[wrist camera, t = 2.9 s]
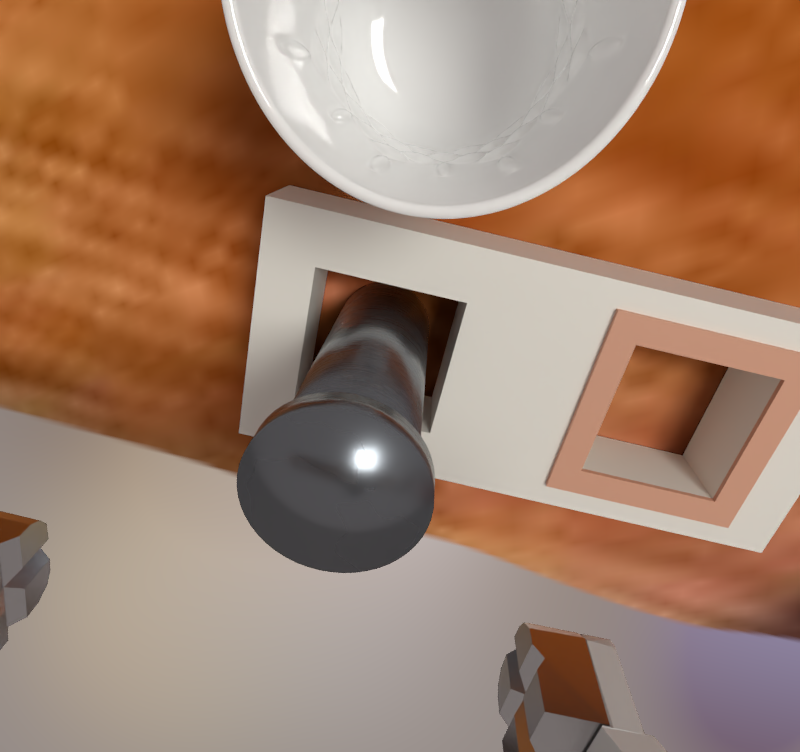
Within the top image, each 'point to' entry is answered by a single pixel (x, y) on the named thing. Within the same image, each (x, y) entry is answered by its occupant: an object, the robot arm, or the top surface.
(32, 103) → the top surface
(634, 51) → the white cup
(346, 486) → the pin
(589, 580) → the top surface
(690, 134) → the top surface
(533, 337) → the dock board
